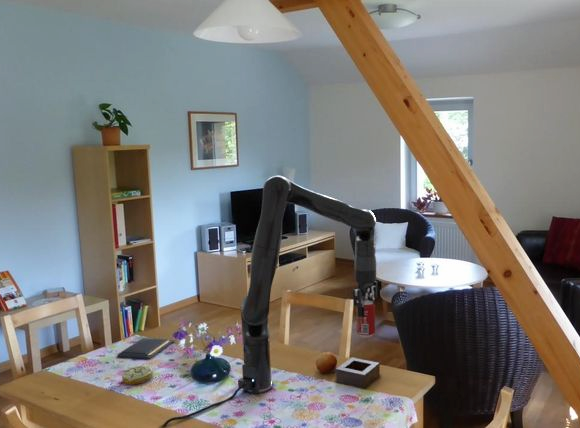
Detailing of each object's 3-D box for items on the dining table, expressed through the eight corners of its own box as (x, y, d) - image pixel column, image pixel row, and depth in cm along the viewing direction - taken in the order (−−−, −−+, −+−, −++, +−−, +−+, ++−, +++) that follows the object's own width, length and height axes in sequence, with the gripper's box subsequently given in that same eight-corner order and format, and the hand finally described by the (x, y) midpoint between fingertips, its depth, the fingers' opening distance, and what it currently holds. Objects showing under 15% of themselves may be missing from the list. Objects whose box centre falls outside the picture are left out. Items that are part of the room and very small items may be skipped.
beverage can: (377, 333, 201) (377, 300, 200) (370, 339, 196) (370, 305, 194) (361, 331, 204) (361, 298, 202) (354, 336, 198) (353, 303, 197)
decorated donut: (117, 380, 209) (116, 370, 208) (145, 371, 216) (144, 361, 216) (129, 388, 201) (128, 378, 201) (158, 378, 209) (157, 369, 208)
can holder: (364, 388, 197) (364, 375, 197) (336, 382, 203) (335, 368, 202) (379, 375, 207) (379, 362, 207) (352, 370, 213) (351, 357, 212)
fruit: (341, 371, 209) (330, 353, 208) (323, 382, 209) (312, 364, 208) (342, 362, 217) (331, 345, 216) (325, 372, 217) (313, 355, 216)
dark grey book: (143, 335, 249) (174, 337, 245) (143, 339, 249) (175, 341, 246) (114, 352, 230) (148, 355, 226) (115, 357, 230) (148, 360, 226)
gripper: (365, 262, 205) (365, 307, 207) (345, 270, 192) (346, 318, 195) (384, 264, 201) (384, 310, 203) (365, 273, 188) (365, 321, 191)
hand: (365, 314), depth 199 cm, fingers closed on beverage can, 6 cm apart
